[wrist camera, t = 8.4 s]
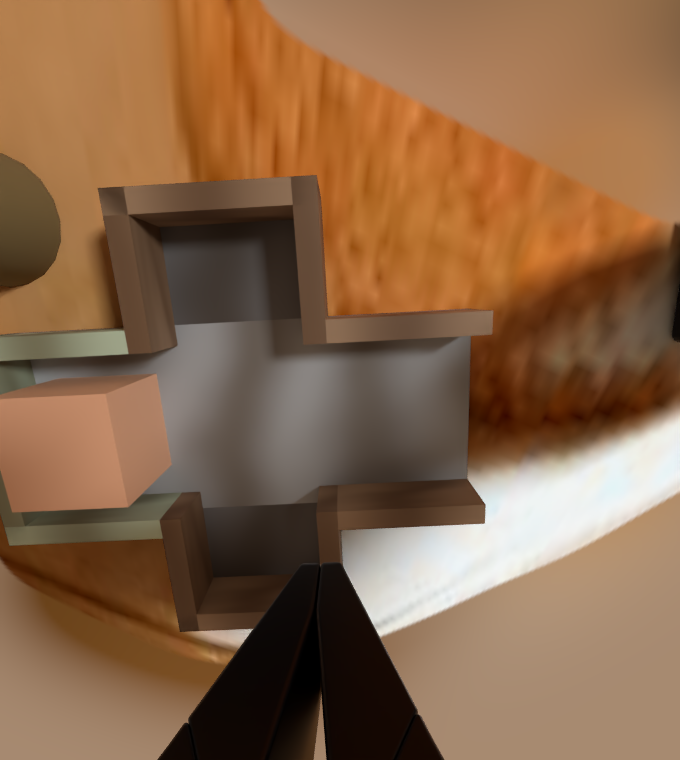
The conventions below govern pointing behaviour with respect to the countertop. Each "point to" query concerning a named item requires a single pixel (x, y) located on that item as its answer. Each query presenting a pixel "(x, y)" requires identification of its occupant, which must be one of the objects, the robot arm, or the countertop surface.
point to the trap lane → (259, 396)
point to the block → (82, 442)
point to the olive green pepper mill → (25, 225)
